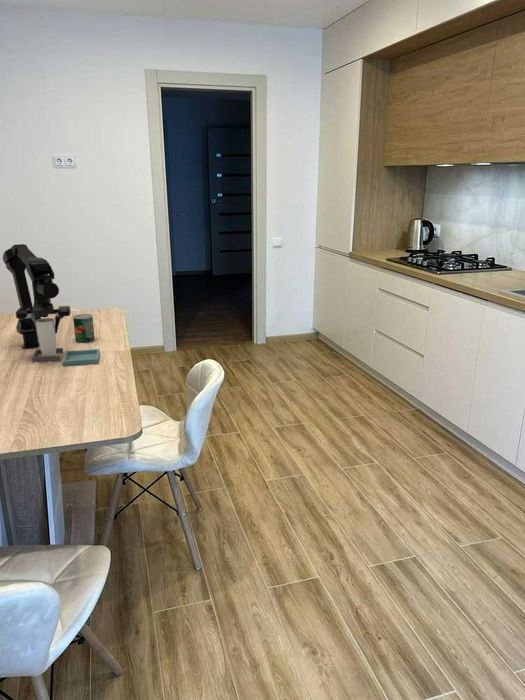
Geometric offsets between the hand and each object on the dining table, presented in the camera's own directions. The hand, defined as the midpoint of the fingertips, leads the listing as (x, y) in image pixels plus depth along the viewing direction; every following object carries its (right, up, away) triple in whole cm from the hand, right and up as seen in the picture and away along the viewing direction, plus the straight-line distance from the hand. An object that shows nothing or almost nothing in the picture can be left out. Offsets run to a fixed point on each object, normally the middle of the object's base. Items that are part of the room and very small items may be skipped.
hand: (46, 333), depth 198 cm
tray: (+14, -10, 0) cm, 17 cm away
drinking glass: (0, -9, +3) cm, 10 cm away
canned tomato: (+7, -2, +24) cm, 25 cm away
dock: (0, -9, +3) cm, 10 cm away
